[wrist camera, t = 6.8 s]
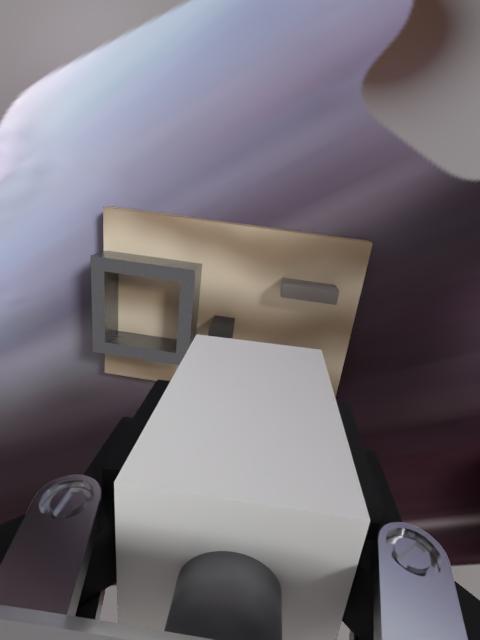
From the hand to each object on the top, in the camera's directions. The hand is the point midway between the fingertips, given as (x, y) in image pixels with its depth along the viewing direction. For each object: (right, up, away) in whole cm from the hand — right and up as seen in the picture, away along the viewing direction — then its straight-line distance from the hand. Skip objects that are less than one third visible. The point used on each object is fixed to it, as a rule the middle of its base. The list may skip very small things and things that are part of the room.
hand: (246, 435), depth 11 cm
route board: (-1, +5, +19) cm, 20 cm away
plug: (0, +1, +2) cm, 2 cm away
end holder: (-7, +5, +18) cm, 20 cm away
